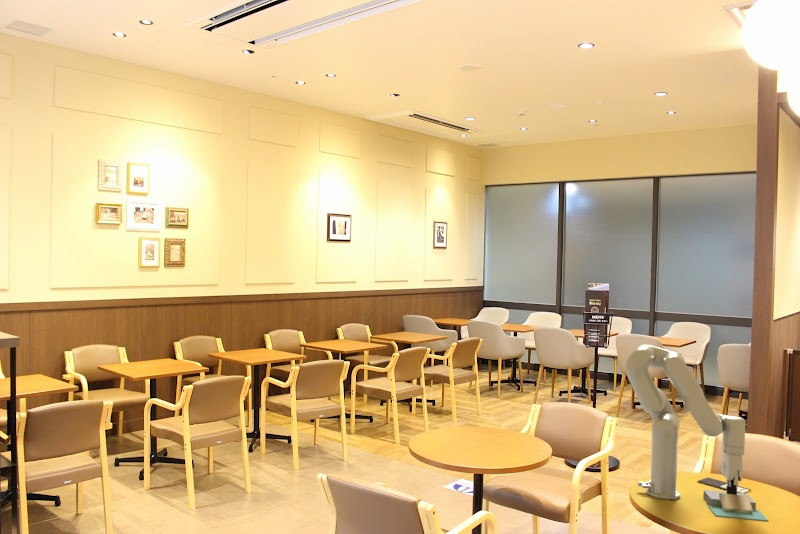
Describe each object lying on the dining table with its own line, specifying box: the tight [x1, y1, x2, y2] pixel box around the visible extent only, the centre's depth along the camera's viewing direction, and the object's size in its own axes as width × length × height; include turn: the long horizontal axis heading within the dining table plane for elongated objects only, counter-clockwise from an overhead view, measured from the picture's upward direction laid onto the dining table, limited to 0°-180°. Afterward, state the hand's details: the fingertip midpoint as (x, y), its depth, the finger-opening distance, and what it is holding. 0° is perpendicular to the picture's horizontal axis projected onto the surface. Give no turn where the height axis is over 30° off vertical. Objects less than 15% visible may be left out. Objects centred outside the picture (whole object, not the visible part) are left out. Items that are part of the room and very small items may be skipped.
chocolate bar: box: [697, 477, 752, 494], centre depth 277 cm, size 9×1×18 cm
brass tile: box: [719, 493, 753, 513], centre depth 250 cm, size 10×7×2 cm
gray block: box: [703, 489, 757, 510], centre depth 256 cm, size 16×10×3 cm, turn 80°
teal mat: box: [707, 504, 770, 522], centre depth 246 cm, size 18×10×1 cm, turn 80°
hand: (731, 496), depth 254 cm, fingers closed
